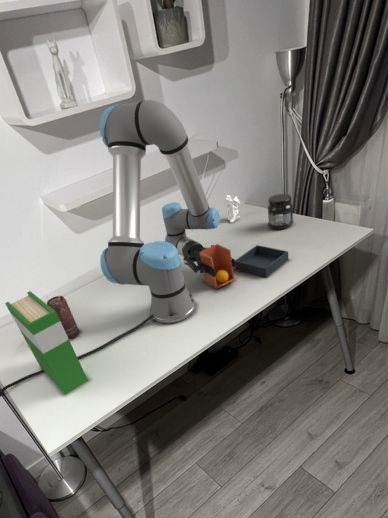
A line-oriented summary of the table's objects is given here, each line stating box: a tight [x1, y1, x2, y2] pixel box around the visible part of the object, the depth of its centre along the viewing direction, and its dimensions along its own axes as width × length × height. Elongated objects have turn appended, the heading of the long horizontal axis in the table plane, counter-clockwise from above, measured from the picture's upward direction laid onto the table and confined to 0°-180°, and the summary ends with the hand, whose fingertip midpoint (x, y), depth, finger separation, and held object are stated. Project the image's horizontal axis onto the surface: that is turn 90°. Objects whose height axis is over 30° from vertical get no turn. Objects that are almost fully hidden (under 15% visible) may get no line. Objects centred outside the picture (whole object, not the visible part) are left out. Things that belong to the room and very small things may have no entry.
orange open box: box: [199, 243, 239, 290], centre depth 142 cm, size 12×8×12 cm
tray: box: [234, 244, 289, 278], centre depth 149 cm, size 14×14×4 cm
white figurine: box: [224, 194, 241, 223], centre depth 186 cm, size 8×7×12 cm
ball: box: [216, 270, 229, 283], centre depth 143 cm, size 5×5×5 cm
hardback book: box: [5, 290, 89, 395], centre depth 112 cm, size 18×7×24 cm, turn 41°
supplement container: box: [267, 193, 294, 231], centre depth 172 cm, size 10×10×12 cm
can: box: [46, 295, 80, 341], centre depth 132 cm, size 6×6×14 cm
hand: (224, 268), depth 139 cm, fingers closed on orange open box, 8 cm apart
